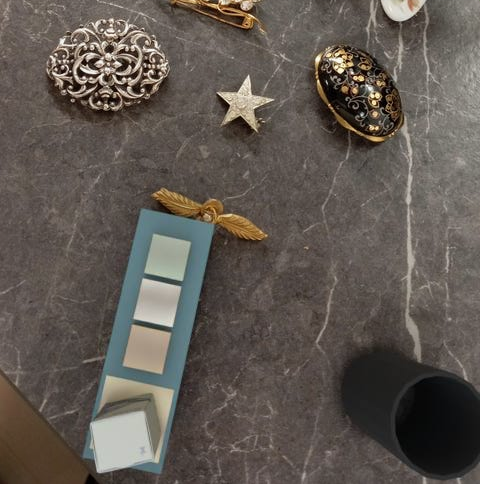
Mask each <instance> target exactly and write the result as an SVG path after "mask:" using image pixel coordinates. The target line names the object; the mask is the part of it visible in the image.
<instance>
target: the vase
mask: <svg viewBox="0 0 480 484" xmlns="http://www.w3.org/2000/svg"><path fill="white" fill-rule="evenodd" d="M341 381H342V382H341V385H340V393H341V394H340V395H341V396H340V398H341V402H342V406H343V408H344V411H345V414H346V415H347V416H348V418H349V419H350V420H351V421H352V422H353V424H354V425H355V426H356V427H357V428H358V429H360V430H361V431H362V432H364V433H365V434H367V435H368V436H369V437H370V438H371V439H372V440H374V441H375V442H377V443H378V444H379V445H380V446H382V448H384V449H385V450H386V451H388V452H389V453H390V454H391V455H393V456H394V457H395V458H397V459H398V460H399V461H400V462H402V463H403V464H404V465H405V466H406V467H408V468H409V469H411V470H413V471H414V472H416V473H417V474H419V475H421V476H422V477H424V478H426V479H432V480H436V481H440V482H441V481H442V482H444V481H449V480H454V479H459V478H463V476H465V475H467V474H468V473H470V472H471V471H473V470H474V469H476V468H477V466H479V463H480V392H479V391H478V390H477V389H476V387H475V386H474V385H473V383H472V382H469V381H468V380H466V379H465V378H463V377H462V376H460V375H458V374H456V373H454V372H451V371H447V370H444V369H441V368H438V367H435V366H432V365H428V364H425V363H422V362H419V361H415V360H413V359H409V358H406V357H403V356H400V355H396V354H394V353H389V352H384V351H379V350H378V351H372V352H367V353H364V354H362V355H361V356H360V357H357V358H356V359H354V360H353V361H352V363H351V364H350V365H349V366H348V368H346V370H345V371H344V375H343V378H342V380H341ZM412 386H414V402H413V406H412V409H411V411H410V413H409V414H408V416H407V417H406V418H405V419H404V421H403V422H401V424H399V425H397V426H396V415H397V411H398V408H399V405H400V402H401V399H402V398H403V397H404V395H405V394H406V393H407V392H408V390H409V389H410V387H412Z"/></svg>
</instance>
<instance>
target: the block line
mask: <svg viewBox="0 0 480 484" xmlns="http://www.w3.org/2000/svg"><path fill="white" fill-rule="evenodd" d="M190 247H191V241H186V240H182V239H177V238H173V237H168V236H164V235H159V234H154V233H153V235H152V240H151V244H150V248H149V253H148V257H147V261H146V265H145V270H144V273H145V274H149V275H154V276H158V277H163V278H167V279H172V280H177V281H181V282H183V279H184V275H185V270H186V266H187V261H188V257H189V252H190ZM181 288H182V287H181V286H177V285H172V284H168V283H163V282H158V281H154V280H149V279H145V278H143V279H142V283H141V287H140V291H139V296H138V300H137V304H136V309H135V313H134V317H133V319H136V320H140V321H145V322H150V323H154V324H159V325H163V326H168V327H173V325H174V320H175V316H176V311H177V306H178V302H179V297H180V293H181ZM171 334H172V331H170V330H165V329H161V328H156V327H151V326H147V325H142V324H138V323H133V324H132V326H131V330H130V334H129V339H128V343H127V347H126V352H125V356H124V360H123V365H122V366H125V367H129V368H134V369H138V370H143V371H148V372H152V373H157V374H161V375H162V374H163V370H164V365H165V361H166V356H167V352H168V347H169V343H170V338H171ZM149 393H152V394H153V396H154V400H155V404H156V409H157V414H158V420H159V425H160V431H161V438H160V441H159V445H158V448H157V451H156V455H155V459H154V460H153V461H150V462H155V463H159V458H160V454H161V449H162V445H163V440H164V435H165V431H166V426H167V421H168V417H169V412H170V408H171V403H172V398H173V394H174V390H173V389H169V388H164V387H160V386H155V385H150V384H146V383H141V382H137V381H132V380H127V379H123V378H118V377H114V376H109V375H106V380H105V384H104V388H103V392H102V397H101V401H100V405H99V409H98V413H99V411H100V410H101V409H102V407H103V406H104V405H105V404H106V403H109V402H113V401H117V400H120V399H124V398H129V397H134V396H139V395H144V394H149ZM89 448H90V449H93V445H92V439H91V443H90V447H89Z"/></svg>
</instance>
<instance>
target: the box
mask: <svg viewBox="0 0 480 484" xmlns="http://www.w3.org/2000/svg"><path fill="white" fill-rule="evenodd" d="M90 422H91V421H90ZM89 426H90V429H91V437H92V445H93V452H94V458H95V460H94V463H95V469H96V473H98V474H104V473H109V472H114V471H118V470H123V469H127V468H128V467H131V466H135V465H139V464H143V463H147V462H150V461H153V460H154V459H155V455H156V451H157V448H158V445H159V441H160V438H161V431H160V425H159V420H158V414H157V409H156V404H155V400H154V396H153V394H152V393H149V394H144V395H139V396H134V397H129V398H124V399H120V400H117V401H113V402H109V403H106V404H105V405H104V406H103V407H102V409H101V410H100V411H99V413H98V414H97V415H96V417H95V418H94V419H93V421H92V422H91V423H89Z"/></svg>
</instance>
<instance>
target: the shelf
mask: <svg viewBox="0 0 480 484" xmlns="http://www.w3.org/2000/svg"><path fill="white" fill-rule="evenodd" d="M215 225H216V224H215V223H212V222H207V221H202V220H198V219H194V218H189V217H184V216H180V215H175V214H169V213H165V212H161V211H157V210H152V209H148V208H144V207H141V208H140V212H139V215H138V220H137V224H136V229H135V232H134V237H133V241H132V246H131V250H130V255H129V258H128V262H127V265H126V266H127V267H126V270H125V275H124V278H123V283H122V287H121V291H120V295H119V300H118V303H117V309H116V313H115V317H114V321H113V326H112V329H111V333H110V338H109V343H108V346H107V351H106V355H105V359H104V362H103V363H104V364H103V367H102V372H101V377H100V379H99V384H98V388H97V393H96V397H95V401H94V405H93V409H92V414H91V419H90V423H91V422H92V421H93V419H94V418H95V417H96V415H97V414H98V409H99V405H100V401H101V397H102V392H103V388H104V384H105V380H106V375H109V376H114V377H118V378H123V379H127V380H132V381H137V382H141V383H146V384H150V385H155V386H160V387H164V388H169V389H173V390H174V394H173V398H172V403H171V408H170V412H169V417H168V421H167V426H166V431H165V435H164V440H163V445H162V449H161V454H160V458H159V463H155V462H147V463H143V464H139V465H135V466H131V467H127V468H129V469H134V470H139V471H142V472H148V473H152V474H157V475H162V473H163V472H162V471H163V468H164V464H165V458H166V454H167V449H168V446H169V445H168V444H169V440H170V435H171V431H172V426H173V421H174V417H175V413H176V408H177V403H178V398H179V393H180V389H181V384H182V379H183V375H184V370H185V367H186V366H185V365H186V362H187V356H188V351H189V347H190V342H191V337H192V334H193V333H192V332H193V328H194V325H195V319H196V315H197V309H198V306H199V305H198V304H199V299H200V296H201V295H200V294H201V291H202V286H203V282H204V277H205V272H206V269H207V264H208V259H209V254H210V249H211V244H212V239H213V235H214V230H215V227H216V226H215ZM153 233H154V234H159V235H164V236H168V237H173V238H177V239H182V240H186V241H191V247H190V252H189V257H188V261H187V266H186V270H185V275H184V279H183V282H181V281H177V280H172V279H167V278H163V277H158V276H154V275H149V274H145V273H144V270H145V265H146V261H147V257H148V253H149V248H150V244H151V240H152V235H153ZM143 278H145V279H149V280H154V281H158V282H163V283H168V284H172V285H177V286H181V287H182V288H181V293H180V297H179V302H178V306H177V311H176V316H175V320H174V325H173V327H168V326H163V325H159V324H154V323H150V322H145V321H140V320H136V319H133V317H134V313H135V309H136V304H137V300H138V296H139V291H140V287H141V283H142V279H143ZM133 323H138V324H142V325H147V326H151V327H156V328H161V329H165V330H170V331H172V334H171V338H170V343H169V347H168V352H167V356H166V361H165V365H164V370H163V374H162V375H161V374H157V373H152V372H148V371H143V370H138V369H134V368H129V367H125V366H122V365H123V360H124V356H125V352H126V347H127V343H128V339H129V334H130V330H131V326H132V324H133ZM90 423H89V424H90ZM91 439H92V437H91V429H90V425H89V426H88V430H87V435H86V439H85V443H84V448H83V452H82V456H81V457H82V459H87V460H92V461H95V458H94V452H93V449H90V448H89V447H90V443H91Z"/></svg>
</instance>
